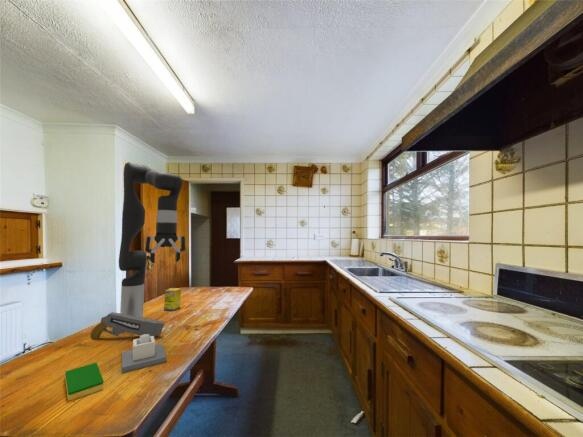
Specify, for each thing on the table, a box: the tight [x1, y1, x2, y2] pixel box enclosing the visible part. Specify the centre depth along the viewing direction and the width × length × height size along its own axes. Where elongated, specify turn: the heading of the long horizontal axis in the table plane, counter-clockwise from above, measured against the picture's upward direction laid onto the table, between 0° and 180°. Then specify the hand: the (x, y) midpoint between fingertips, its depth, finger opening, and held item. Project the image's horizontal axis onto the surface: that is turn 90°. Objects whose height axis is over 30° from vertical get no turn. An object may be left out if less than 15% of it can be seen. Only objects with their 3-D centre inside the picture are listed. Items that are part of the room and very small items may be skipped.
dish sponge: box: [64, 362, 105, 402], centre depth 69 cm, size 7×14×2 cm, turn 44°
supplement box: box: [163, 287, 182, 312], centre depth 137 cm, size 6×6×11 cm
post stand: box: [121, 334, 167, 374], centre depth 83 cm, size 12×12×8 cm
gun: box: [90, 312, 165, 341], centre depth 100 cm, size 3×25×15 cm, turn 95°
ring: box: [132, 336, 156, 361], centre depth 83 cm, size 6×6×4 cm
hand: (165, 262), depth 100 cm, fingers open, 8 cm apart
